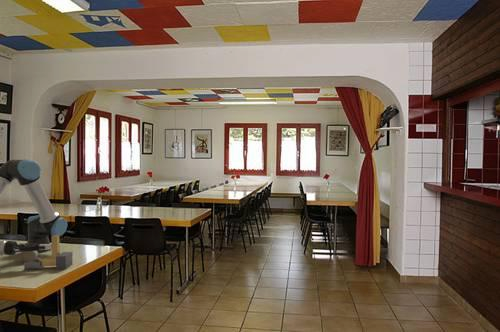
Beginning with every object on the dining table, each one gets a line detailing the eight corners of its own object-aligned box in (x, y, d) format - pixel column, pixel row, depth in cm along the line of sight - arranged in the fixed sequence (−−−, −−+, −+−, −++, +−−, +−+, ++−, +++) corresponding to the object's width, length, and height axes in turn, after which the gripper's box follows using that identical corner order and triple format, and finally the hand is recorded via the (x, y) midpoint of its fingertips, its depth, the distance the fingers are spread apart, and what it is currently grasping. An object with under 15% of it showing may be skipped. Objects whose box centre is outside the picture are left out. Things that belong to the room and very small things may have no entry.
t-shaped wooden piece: (42, 264, 215) (41, 235, 215) (68, 263, 216) (68, 234, 216) (39, 266, 211) (38, 237, 211) (65, 265, 212) (65, 236, 212)
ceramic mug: (22, 263, 222) (22, 250, 222) (23, 260, 230) (23, 247, 230) (43, 261, 227) (43, 248, 227) (44, 258, 234) (44, 245, 234)
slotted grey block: (63, 264, 219) (63, 252, 219) (72, 264, 219) (72, 251, 219) (56, 269, 209) (55, 256, 209) (65, 269, 209) (65, 256, 209)
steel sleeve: (30, 266, 216) (30, 259, 216) (45, 266, 216) (45, 258, 216) (24, 270, 209) (24, 262, 209) (39, 269, 209) (39, 262, 209)
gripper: (13, 252, 217) (57, 250, 219) (0, 257, 204) (46, 256, 206) (13, 238, 217) (56, 237, 219) (0, 243, 204) (46, 242, 206)
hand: (52, 246), depth 213 cm, fingers closed
